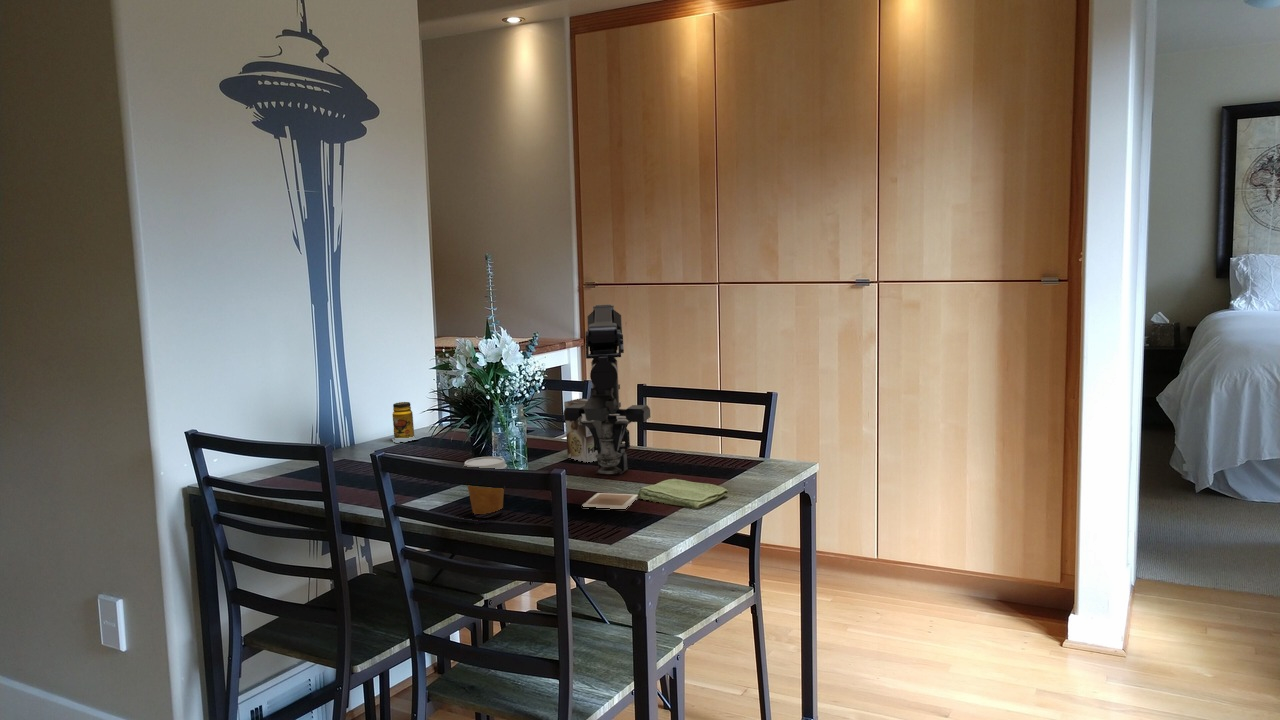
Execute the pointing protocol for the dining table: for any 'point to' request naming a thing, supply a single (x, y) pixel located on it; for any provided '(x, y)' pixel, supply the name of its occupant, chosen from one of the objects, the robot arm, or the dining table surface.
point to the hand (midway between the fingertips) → (608, 451)
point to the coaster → (611, 500)
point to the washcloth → (682, 493)
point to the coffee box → (579, 437)
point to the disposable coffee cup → (483, 496)
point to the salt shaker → (608, 450)
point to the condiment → (403, 420)
